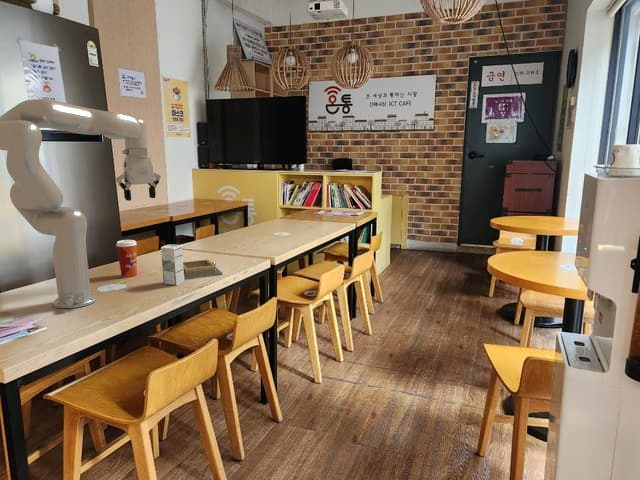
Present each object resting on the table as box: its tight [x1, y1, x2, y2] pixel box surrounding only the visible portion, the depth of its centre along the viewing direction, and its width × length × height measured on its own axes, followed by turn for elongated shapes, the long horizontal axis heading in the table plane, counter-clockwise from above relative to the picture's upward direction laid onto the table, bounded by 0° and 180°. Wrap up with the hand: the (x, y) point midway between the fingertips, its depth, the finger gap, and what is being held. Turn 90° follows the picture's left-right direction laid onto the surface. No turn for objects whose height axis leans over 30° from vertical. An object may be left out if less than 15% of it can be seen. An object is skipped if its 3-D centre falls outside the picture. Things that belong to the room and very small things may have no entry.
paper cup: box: [115, 239, 138, 278], centre depth 181 cm, size 8×8×14 cm
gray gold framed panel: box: [183, 259, 223, 280], centre depth 190 cm, size 22×15×3 cm
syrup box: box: [160, 243, 185, 286], centre depth 171 cm, size 6×6×14 cm
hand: (140, 199), depth 173 cm, fingers open, 9 cm apart
